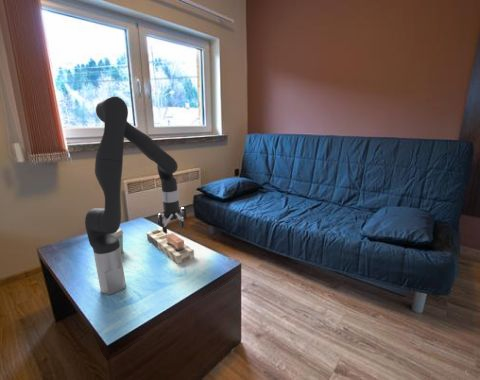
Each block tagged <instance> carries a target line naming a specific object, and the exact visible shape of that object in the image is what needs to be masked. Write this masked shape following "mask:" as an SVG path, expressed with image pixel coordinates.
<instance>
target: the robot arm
mask: <svg viewBox="0 0 480 380" xmlns="http://www.w3.org/2000/svg"><path fill="white" fill-rule="evenodd" d="M95 114H96V116H97V118H98V119H99V120H100V121H101V122H102V123H104V127H103V128H104V129H103V135H102V136H101V140H100V143H99V145H98V148H97V151H96V153H95V154H96V155H95V163H94V175H95V178H96V180H97V181H98V185H99V186H100V187H101V190H102V192H103V196H104V207H103V208H101V207H99V208H98V207H94V208H91V209H90V210H88V211H87V213H86V215H85V218H84V225H85V230H86V235H87V238H88V242H89V245H90V246H91V248H92V250H93V256H94V261H95V267H96V273H97V279H98V283H99V289H100V293H102V294H105V295H108V296H110V295H112V294H115V293H117V292H120V291H123V290H125V289H126V288H125V286H126V278H125V277H126V276H125V271H124V264H123V258H122V253H121V249H120V243H119V239H118V238H116V237H115V236H113V235H111V234H113V233H115V232H117V230H118V229H119V228H121V227H120V225H121V222H122V205H121V203H122V202H121V200H122V199H121V196H122V195H121V192H122V191H121V190H122V176H123V175H122V173H123V165H124V164H123V162H124V159H123V158H124V157H123V156H124V147H125V146H124V145H125V139H126V140H127V141H128V142H130V143H131V144H133V146H135V148H137V149H138V150H139V151H140V152H141V153H142V154H143V155H144V156H146V158H148V160H150V161H152V162H153V163H155V164H156V166H157V167H156V168H157V172H158V176H159V180H160V184H161V185H160V186H161V200H162V207H163V213H156V214H157V225H158V226H159V227H161V228H162V229H163V232H164V233H165V234H167V232H168V228H167V225H168V224H169V223H170V222H171V221H173V220H177V219H178V222H179V223H178V224H179V229H181V230H182V229H184V227H185V226H184V221H185V220H187V219H188V217H187V216H188V215H187V209H186V208H185V207H183V206H181V207H180V200H179V197H180V196H179V191H178V183H177V181H178V180H177V179H176V177H174V173H176V172H177V170H178V162H177V161H176V160H175V159H174V157H172V156H171V155H170V154H169V153H167V152H166V151H164V150H163V149H162V148H161V146H159V144H157V143H156V142H155V140H154V139H152V138H151V137H150V136H149V135H148V134H146V133H144V132H142V131H141V130H140V129H138V128H136V127H135V126H134V125H132V124H131V123H130V122H128V116H129V109H128V106H127V103H126V102H125V100H124V99H122V98H121V97H119V96H115V95H114V96H109V97H107V98H105V99H103V100H101V101H99V102H98V103H97V104H96V106H95ZM180 213H181V215H180Z"/></svg>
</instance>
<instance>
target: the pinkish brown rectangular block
mask: <svg viewBox="0 0 480 380" xmlns="http://www.w3.org/2000/svg"><path fill="white" fill-rule="evenodd" d="M166 240H167V243H168V245H174V246H175V247H176V251H177V252H179V251H182V250H184V244H185V241H184V239H182V238H181V237H179V236H178V235H176V234H175V233H173V232H172V233H169V234H168V235H166Z"/></svg>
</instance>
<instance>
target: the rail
mask: <svg viewBox="0 0 480 380" xmlns="http://www.w3.org/2000/svg"><path fill="white" fill-rule="evenodd" d="M168 234H170V233H169V232H168V231H167V234H165V233H164V232H163V229H162V227H161V228H158V229H155V230H151V231H148V232H146V240H147V241H148V242H149V243H150V244H151V245H154V246H155V247H156V248H157V249H159V250H160V251H161V252H162V253H163V254H165V256H167V257H168V258H169V259H171V260H172V261H173V262H174V263H175V264H177V265H179V264H182V263H185V262H186V261H189V260H192V259H194V258H195V251H194V249H193V248H191V246H188V245H187V244H186V243H184V250H182V251H179V252H177V251H176V247H175V246H174V245H168V243H167V240H166V235H168Z"/></svg>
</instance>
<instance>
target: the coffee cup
mask: <svg viewBox="0 0 480 380" xmlns="http://www.w3.org/2000/svg"><path fill="white" fill-rule="evenodd" d="M123 234H124V231H123V229H122V228H121V227H119V229H118V230H117V232H115V233H113V234H111V235H113V236H115V237H116V238H118V239H119V243H120V249H121V252H122V253H123V251H124V236H123Z"/></svg>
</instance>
